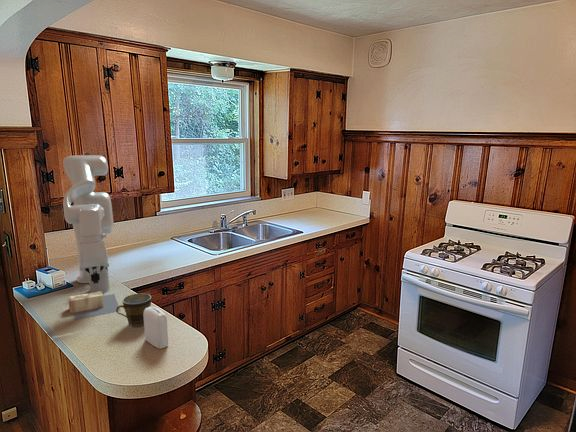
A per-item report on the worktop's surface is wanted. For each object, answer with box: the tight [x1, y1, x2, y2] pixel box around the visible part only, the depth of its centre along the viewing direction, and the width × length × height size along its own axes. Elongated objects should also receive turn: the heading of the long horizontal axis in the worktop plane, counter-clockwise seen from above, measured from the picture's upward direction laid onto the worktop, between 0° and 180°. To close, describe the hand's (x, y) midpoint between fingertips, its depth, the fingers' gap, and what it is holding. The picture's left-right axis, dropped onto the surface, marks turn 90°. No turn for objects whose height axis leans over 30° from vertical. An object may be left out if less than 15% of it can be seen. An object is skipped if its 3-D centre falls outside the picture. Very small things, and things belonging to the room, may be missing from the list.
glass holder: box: [89, 267, 111, 294], centre depth 174 cm, size 9×14×15 cm, turn 33°
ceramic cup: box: [115, 292, 152, 329], centre depth 141 cm, size 13×10×10 cm
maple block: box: [67, 291, 104, 314], centre depth 154 cm, size 5×5×12 cm
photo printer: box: [143, 306, 169, 350], centre depth 129 cm, size 10×4×12 cm, turn 47°
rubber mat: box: [73, 293, 121, 321], centre depth 157 cm, size 20×16×1 cm
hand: (95, 282), depth 155 cm, fingers closed
